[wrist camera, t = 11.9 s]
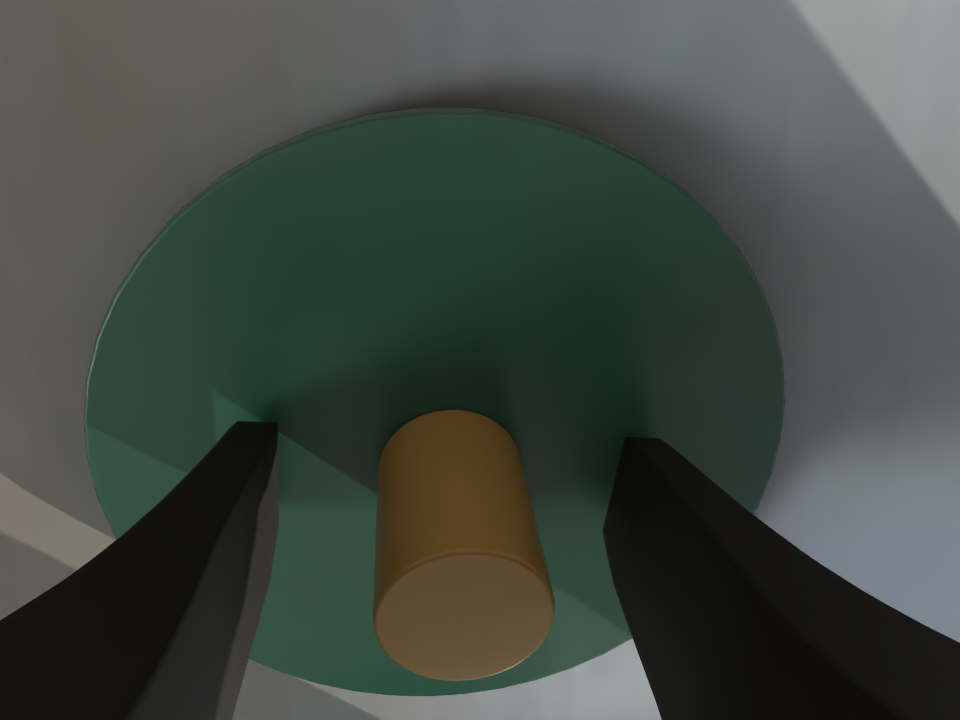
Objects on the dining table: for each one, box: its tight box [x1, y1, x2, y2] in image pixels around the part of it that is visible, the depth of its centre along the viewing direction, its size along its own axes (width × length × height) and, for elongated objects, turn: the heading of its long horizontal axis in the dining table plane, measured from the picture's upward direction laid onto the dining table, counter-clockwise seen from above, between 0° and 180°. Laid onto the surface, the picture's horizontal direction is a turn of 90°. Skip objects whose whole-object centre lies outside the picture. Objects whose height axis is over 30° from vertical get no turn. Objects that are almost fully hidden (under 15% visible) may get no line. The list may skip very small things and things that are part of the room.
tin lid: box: [84, 107, 785, 696], centre depth 12 cm, size 12×12×4 cm
